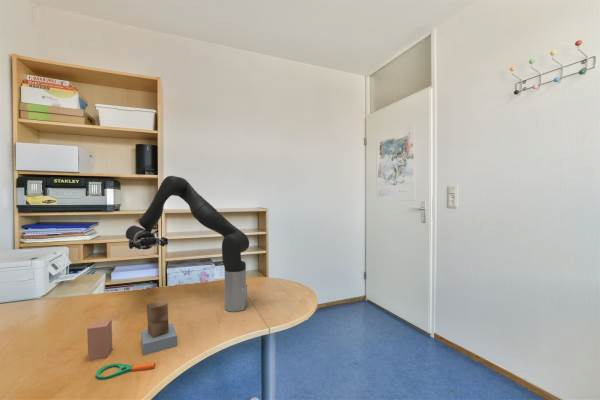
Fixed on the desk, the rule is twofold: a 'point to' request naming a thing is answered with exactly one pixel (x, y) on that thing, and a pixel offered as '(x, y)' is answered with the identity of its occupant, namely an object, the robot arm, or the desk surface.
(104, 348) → the brick-red block
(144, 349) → the slate base block
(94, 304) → the desk surface
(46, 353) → the desk surface
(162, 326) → the walnut block
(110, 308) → the desk surface
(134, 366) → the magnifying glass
